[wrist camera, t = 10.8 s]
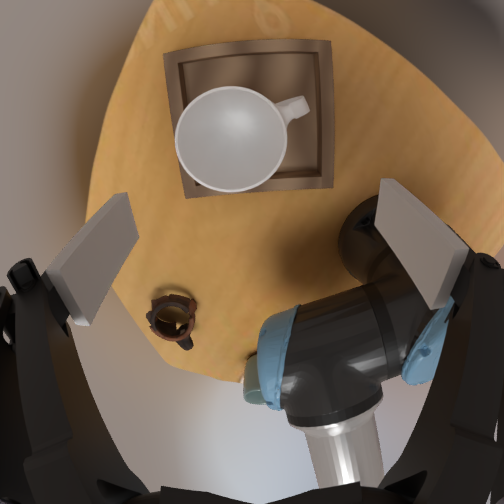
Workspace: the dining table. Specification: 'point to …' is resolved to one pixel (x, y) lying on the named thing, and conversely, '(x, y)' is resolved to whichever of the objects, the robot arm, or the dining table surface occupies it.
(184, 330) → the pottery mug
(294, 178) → the tray
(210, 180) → the mug
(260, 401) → the cup
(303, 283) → the dining table surface
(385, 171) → the dining table surface
